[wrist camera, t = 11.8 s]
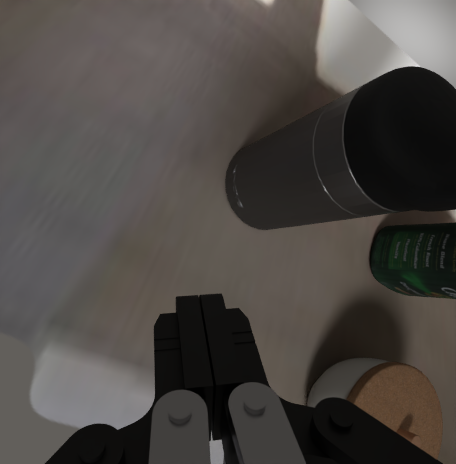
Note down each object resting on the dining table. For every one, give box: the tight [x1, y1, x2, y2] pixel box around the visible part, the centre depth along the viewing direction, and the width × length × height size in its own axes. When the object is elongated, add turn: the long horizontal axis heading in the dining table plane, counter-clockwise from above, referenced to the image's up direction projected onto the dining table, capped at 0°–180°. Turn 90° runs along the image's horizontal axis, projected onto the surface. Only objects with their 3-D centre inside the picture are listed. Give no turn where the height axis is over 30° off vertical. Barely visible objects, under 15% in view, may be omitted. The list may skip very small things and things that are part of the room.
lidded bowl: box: [307, 358, 443, 459], centre depth 40 cm, size 13×13×11 cm
